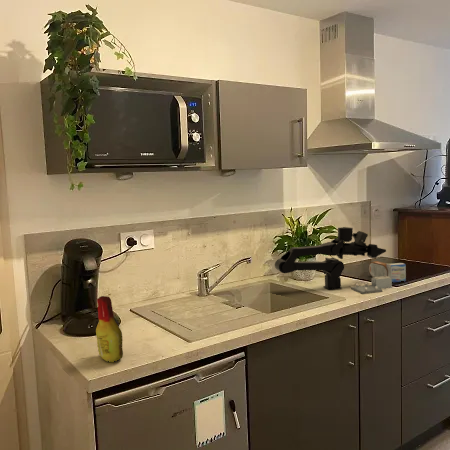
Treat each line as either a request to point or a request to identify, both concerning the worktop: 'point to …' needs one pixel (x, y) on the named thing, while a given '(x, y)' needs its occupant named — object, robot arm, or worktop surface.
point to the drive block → (382, 282)
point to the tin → (378, 269)
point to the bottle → (108, 332)
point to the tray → (366, 289)
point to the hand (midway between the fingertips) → (380, 249)
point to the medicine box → (397, 272)
